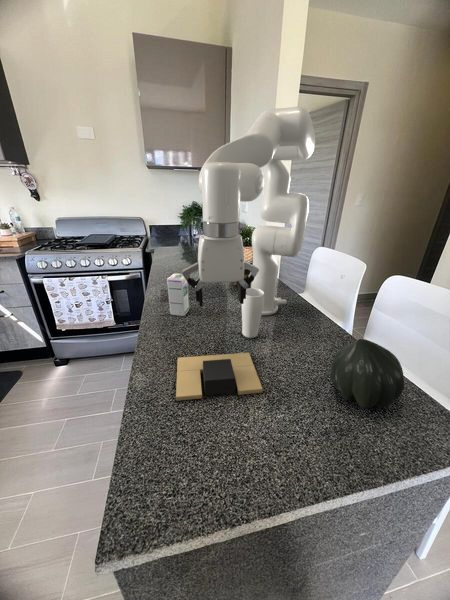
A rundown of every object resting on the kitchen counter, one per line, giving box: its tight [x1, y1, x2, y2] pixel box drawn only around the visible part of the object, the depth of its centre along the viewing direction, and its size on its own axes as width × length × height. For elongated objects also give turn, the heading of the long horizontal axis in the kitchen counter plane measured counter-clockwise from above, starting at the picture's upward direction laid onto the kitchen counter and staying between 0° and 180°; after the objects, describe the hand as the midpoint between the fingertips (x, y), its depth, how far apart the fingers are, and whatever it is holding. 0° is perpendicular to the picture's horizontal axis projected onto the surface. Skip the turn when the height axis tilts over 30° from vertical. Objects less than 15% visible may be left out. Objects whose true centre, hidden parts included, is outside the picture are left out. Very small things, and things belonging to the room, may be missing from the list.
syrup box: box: [166, 273, 190, 317], centre depth 92 cm, size 6×6×14 cm
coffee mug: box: [235, 268, 251, 289], centre depth 118 cm, size 12×9×10 cm
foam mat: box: [175, 352, 263, 402], centre depth 64 cm, size 20×14×1 cm
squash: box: [329, 337, 405, 410], centre depth 57 cm, size 14×15×15 cm
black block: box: [202, 359, 236, 396], centre depth 61 cm, size 7×7×4 cm
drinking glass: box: [240, 287, 264, 339], centre depth 79 cm, size 7×7×15 cm
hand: (220, 302), depth 60 cm, fingers open, 9 cm apart
